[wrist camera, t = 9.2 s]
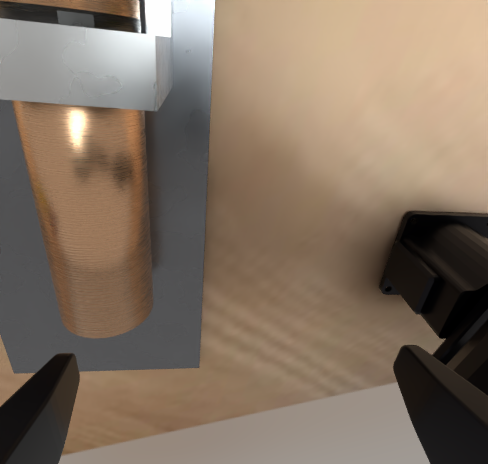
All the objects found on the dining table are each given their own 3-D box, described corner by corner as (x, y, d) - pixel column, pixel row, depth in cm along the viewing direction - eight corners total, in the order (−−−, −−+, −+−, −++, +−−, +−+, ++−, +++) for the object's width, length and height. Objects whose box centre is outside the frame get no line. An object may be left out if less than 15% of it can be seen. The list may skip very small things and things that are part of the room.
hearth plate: (219, -110, 13) (220, -118, 13) (199, 359, 26) (199, 367, 26) (-163, -176, 11) (-186, -190, 11) (19, 364, 24) (14, 373, 24)
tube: (-29, -108, 11) (-66, -174, 8) (121, -72, 13) (151, -110, 10) (58, 289, 20) (62, 352, 16) (143, 272, 22) (164, 324, 18)
